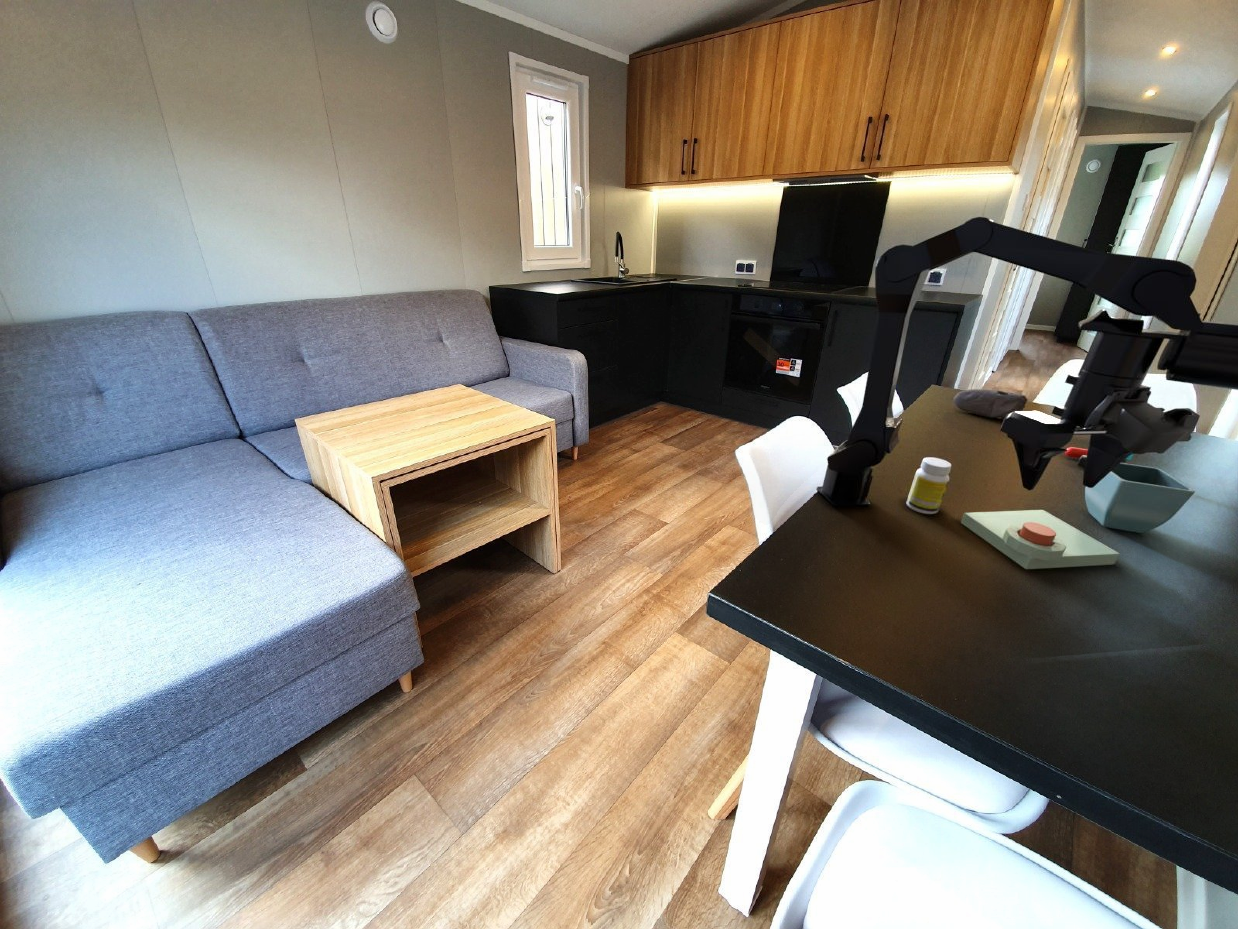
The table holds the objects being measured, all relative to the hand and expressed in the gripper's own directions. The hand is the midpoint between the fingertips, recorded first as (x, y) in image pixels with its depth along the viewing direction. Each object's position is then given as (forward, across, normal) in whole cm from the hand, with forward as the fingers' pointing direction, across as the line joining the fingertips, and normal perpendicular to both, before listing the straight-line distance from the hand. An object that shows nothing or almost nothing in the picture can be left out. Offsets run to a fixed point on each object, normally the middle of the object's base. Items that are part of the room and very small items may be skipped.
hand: (1057, 487), depth 65 cm
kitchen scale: (+11, +4, +3) cm, 12 cm away
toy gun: (+11, +44, +29) cm, 54 cm away
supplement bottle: (+11, -6, +14) cm, 19 cm away
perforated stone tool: (+11, +45, +58) cm, 74 cm away
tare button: (+8, 0, 0) cm, 8 cm away
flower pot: (+11, +23, +7) cm, 27 cm away
